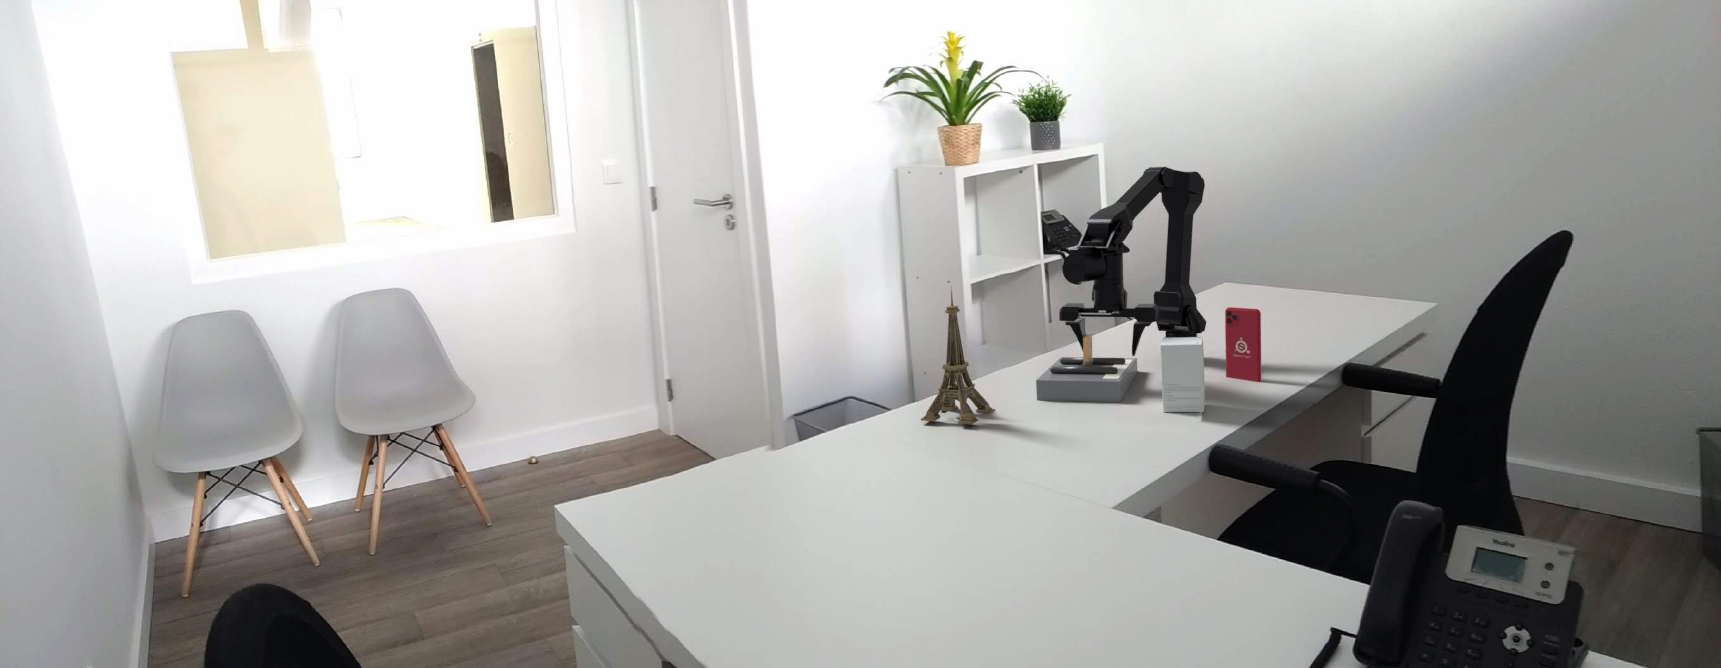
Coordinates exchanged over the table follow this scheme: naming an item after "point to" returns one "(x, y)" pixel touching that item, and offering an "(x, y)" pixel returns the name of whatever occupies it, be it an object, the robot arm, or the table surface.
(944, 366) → the eiffel tower
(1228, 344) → the smartphone
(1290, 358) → the table surface
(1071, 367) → the breaker panel
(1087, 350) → the breaker lever
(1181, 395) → the supplement box
